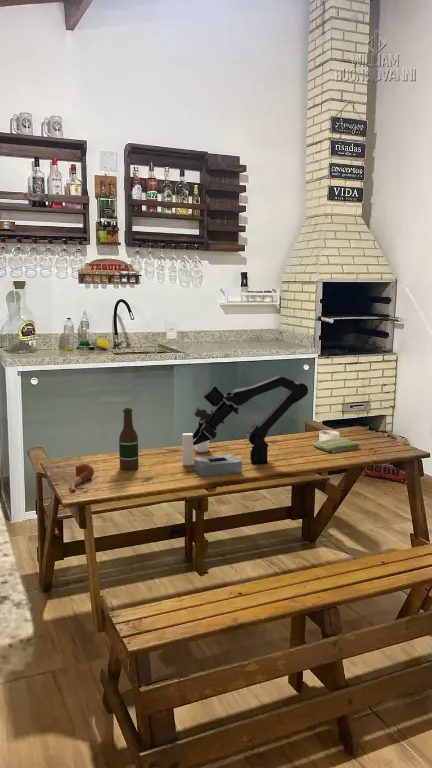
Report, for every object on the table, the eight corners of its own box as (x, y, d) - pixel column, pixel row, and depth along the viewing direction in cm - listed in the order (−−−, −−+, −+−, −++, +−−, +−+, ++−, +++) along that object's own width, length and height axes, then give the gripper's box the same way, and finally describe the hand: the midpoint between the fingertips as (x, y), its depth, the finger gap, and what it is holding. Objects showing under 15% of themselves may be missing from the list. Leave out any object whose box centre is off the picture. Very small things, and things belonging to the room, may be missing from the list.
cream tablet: (192, 463, 263) (192, 433, 260) (193, 464, 260) (192, 434, 258) (182, 463, 262) (182, 433, 260) (183, 465, 260) (182, 435, 258)
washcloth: (310, 447, 287) (311, 440, 286) (342, 442, 295) (342, 435, 295) (329, 454, 275) (329, 447, 275) (361, 449, 284) (361, 442, 283)
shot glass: (207, 452, 278) (207, 436, 277) (192, 451, 279) (192, 436, 278) (211, 448, 284) (211, 433, 283) (196, 447, 286) (195, 432, 285)
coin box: (231, 464, 260) (231, 454, 259) (241, 472, 250) (241, 461, 249) (193, 469, 255) (193, 458, 254) (202, 477, 244) (202, 465, 244)
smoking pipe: (95, 476, 247) (94, 462, 246) (87, 492, 228) (87, 477, 227) (76, 477, 246) (75, 462, 245) (67, 493, 228) (66, 477, 227)
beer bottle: (142, 466, 259) (141, 407, 255) (133, 471, 252) (132, 411, 248) (125, 464, 261) (123, 406, 257) (115, 469, 254) (114, 410, 250)
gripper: (204, 396, 267) (177, 422, 267) (208, 405, 248) (179, 433, 249) (223, 414, 269) (196, 440, 269) (228, 424, 250) (200, 453, 251)
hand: (192, 441), depth 260 cm, fingers open, 9 cm apart
